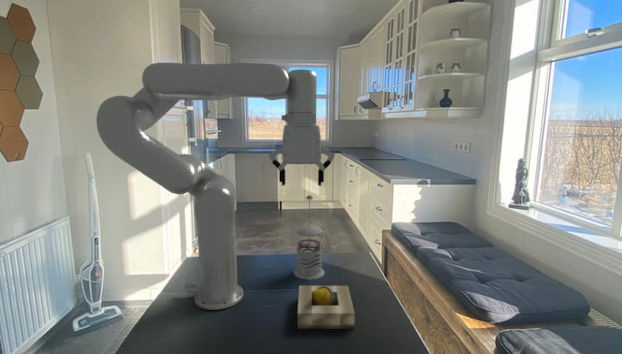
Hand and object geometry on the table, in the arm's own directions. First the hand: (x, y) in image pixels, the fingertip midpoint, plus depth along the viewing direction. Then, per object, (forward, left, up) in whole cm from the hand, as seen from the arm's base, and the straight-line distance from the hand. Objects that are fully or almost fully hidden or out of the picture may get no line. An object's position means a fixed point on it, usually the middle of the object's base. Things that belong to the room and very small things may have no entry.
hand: (301, 184), depth 88 cm
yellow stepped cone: (+5, -11, -30) cm, 32 cm away
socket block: (+6, -11, -30) cm, 33 cm away
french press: (+3, +12, -31) cm, 33 cm away
